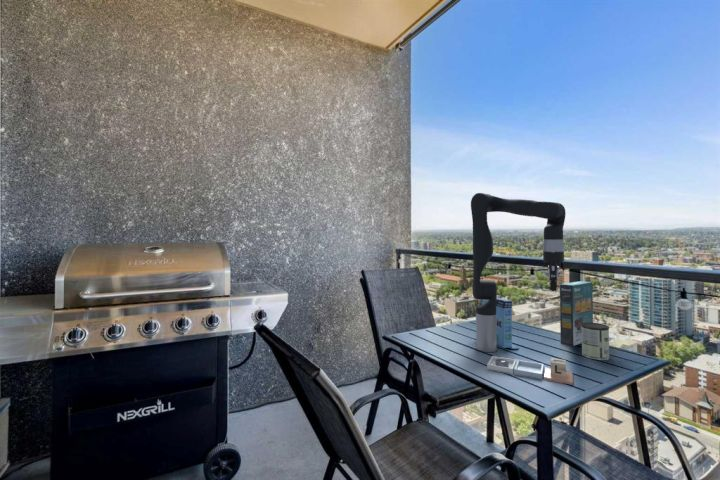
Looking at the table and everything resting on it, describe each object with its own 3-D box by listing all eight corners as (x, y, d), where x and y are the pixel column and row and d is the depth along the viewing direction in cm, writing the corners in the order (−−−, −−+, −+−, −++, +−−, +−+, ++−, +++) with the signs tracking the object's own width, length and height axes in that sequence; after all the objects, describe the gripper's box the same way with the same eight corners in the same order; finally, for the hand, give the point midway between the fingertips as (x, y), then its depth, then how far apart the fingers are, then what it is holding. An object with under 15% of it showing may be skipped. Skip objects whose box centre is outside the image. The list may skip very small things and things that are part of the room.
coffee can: (583, 351, 158) (583, 321, 158) (611, 356, 151) (610, 324, 151) (579, 356, 150) (579, 325, 150) (607, 362, 143) (607, 329, 143)
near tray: (492, 360, 146) (492, 355, 146) (516, 364, 141) (516, 359, 141) (487, 369, 135) (487, 364, 135) (513, 374, 130) (512, 368, 130)
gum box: (481, 337, 182) (480, 295, 182) (489, 336, 183) (488, 294, 183) (503, 348, 163) (503, 301, 163) (513, 347, 164) (512, 300, 164)
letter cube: (551, 370, 131) (550, 357, 131) (565, 373, 129) (565, 360, 129) (550, 375, 127) (550, 361, 127) (566, 377, 124) (565, 364, 124)
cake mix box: (580, 336, 183) (579, 281, 183) (593, 338, 177) (592, 282, 178) (560, 343, 170) (559, 284, 171) (573, 346, 165) (572, 285, 166)
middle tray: (517, 365, 140) (517, 359, 140) (543, 369, 135) (543, 363, 135) (514, 374, 130) (514, 369, 130) (542, 379, 125) (542, 373, 125)
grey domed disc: (496, 362, 141) (496, 358, 141) (509, 365, 139) (509, 360, 139) (494, 366, 137) (494, 361, 137) (507, 369, 135) (507, 364, 135)
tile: (545, 370, 135) (545, 367, 135) (572, 374, 130) (572, 371, 130) (544, 379, 125) (544, 377, 125) (573, 384, 121) (573, 382, 121)
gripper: (543, 249, 147) (544, 286, 147) (542, 251, 135) (542, 291, 135) (563, 249, 143) (564, 287, 143) (564, 251, 131) (564, 292, 131)
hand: (553, 289), depth 139 cm, fingers open, 8 cm apart
